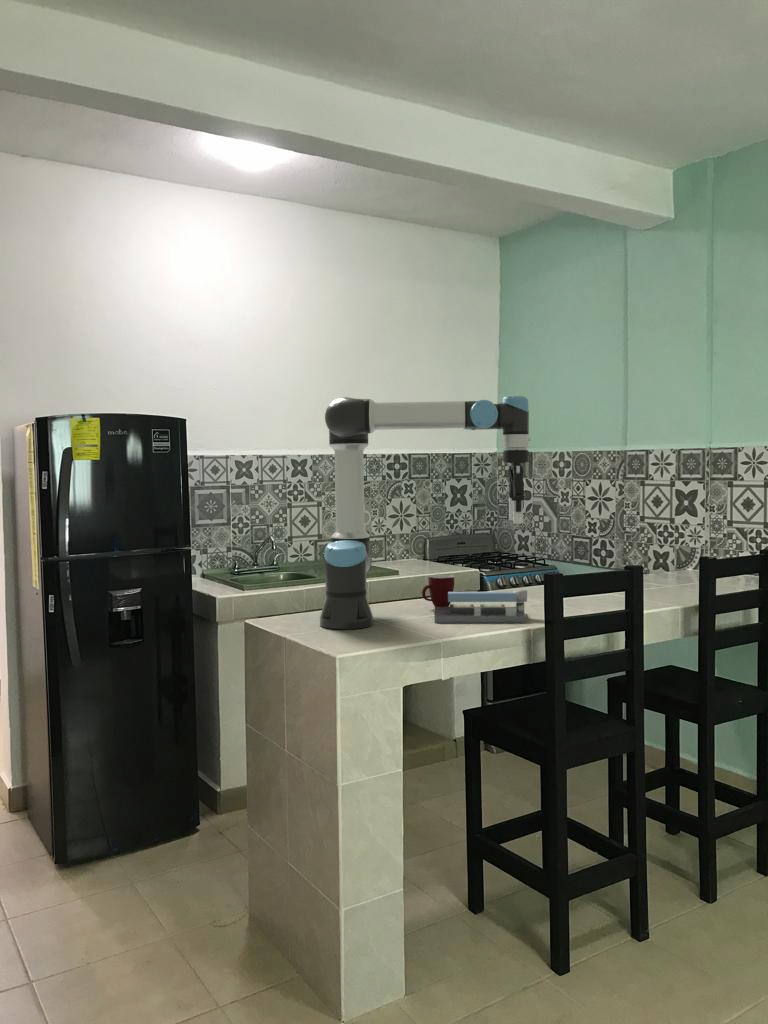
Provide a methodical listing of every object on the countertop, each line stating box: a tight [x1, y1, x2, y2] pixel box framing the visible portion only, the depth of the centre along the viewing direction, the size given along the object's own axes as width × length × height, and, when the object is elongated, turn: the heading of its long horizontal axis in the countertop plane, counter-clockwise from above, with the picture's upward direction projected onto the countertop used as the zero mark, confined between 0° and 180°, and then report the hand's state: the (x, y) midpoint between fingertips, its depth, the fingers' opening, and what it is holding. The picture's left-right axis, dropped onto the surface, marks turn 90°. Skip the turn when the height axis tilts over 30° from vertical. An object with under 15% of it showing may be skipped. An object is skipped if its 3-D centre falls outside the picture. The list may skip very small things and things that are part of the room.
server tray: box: [434, 602, 527, 624], centre depth 246 cm, size 26×15×4 cm, turn 86°
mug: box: [421, 574, 455, 608], centre depth 263 cm, size 10×8×10 cm
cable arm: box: [448, 589, 528, 603], centre depth 246 cm, size 23×4×3 cm, turn 86°
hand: (516, 521), depth 247 cm, fingers open, 13 cm apart
